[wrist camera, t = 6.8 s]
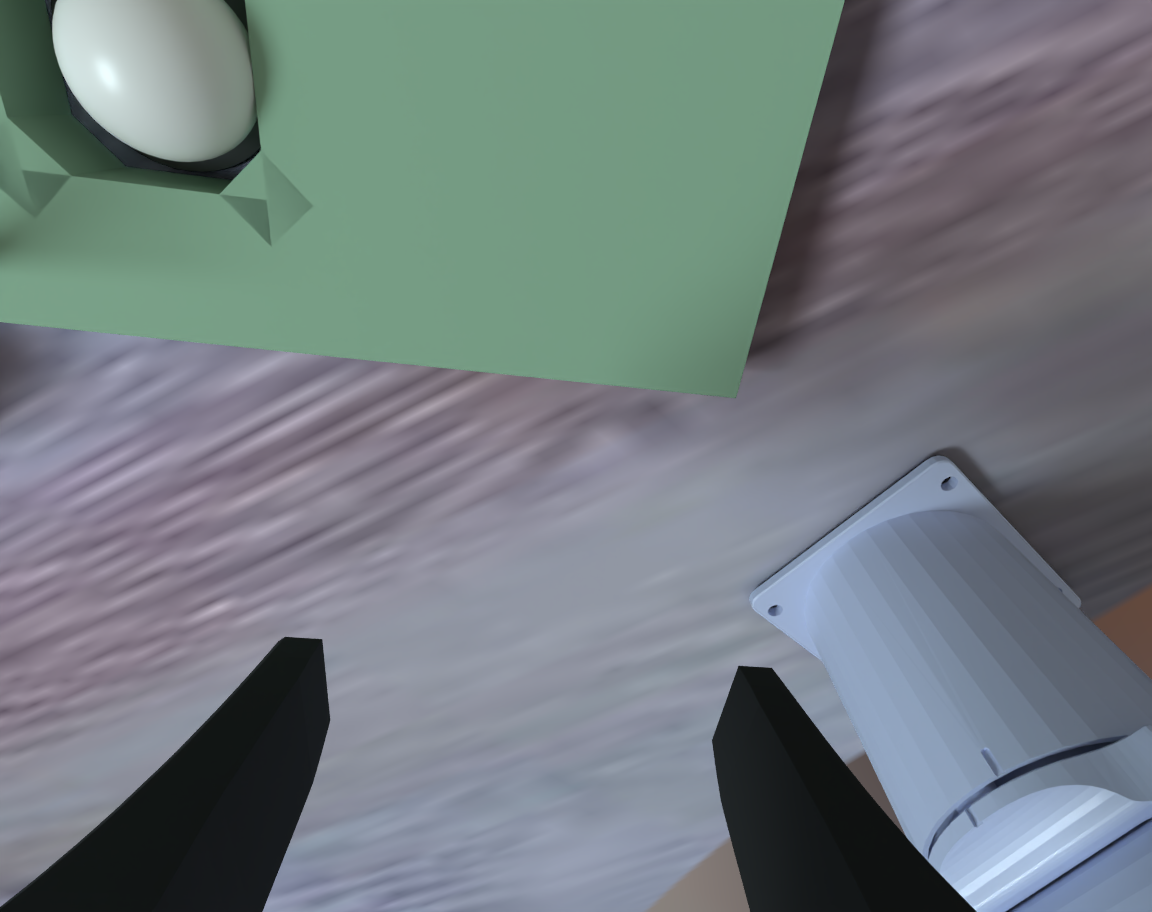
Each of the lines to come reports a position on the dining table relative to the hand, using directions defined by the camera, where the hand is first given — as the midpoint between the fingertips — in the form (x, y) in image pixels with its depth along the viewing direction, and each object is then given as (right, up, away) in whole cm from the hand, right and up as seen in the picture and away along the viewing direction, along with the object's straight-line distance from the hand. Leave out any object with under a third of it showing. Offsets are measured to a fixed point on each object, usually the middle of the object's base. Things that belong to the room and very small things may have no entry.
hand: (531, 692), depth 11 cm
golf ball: (-7, +12, +2) cm, 14 cm away
